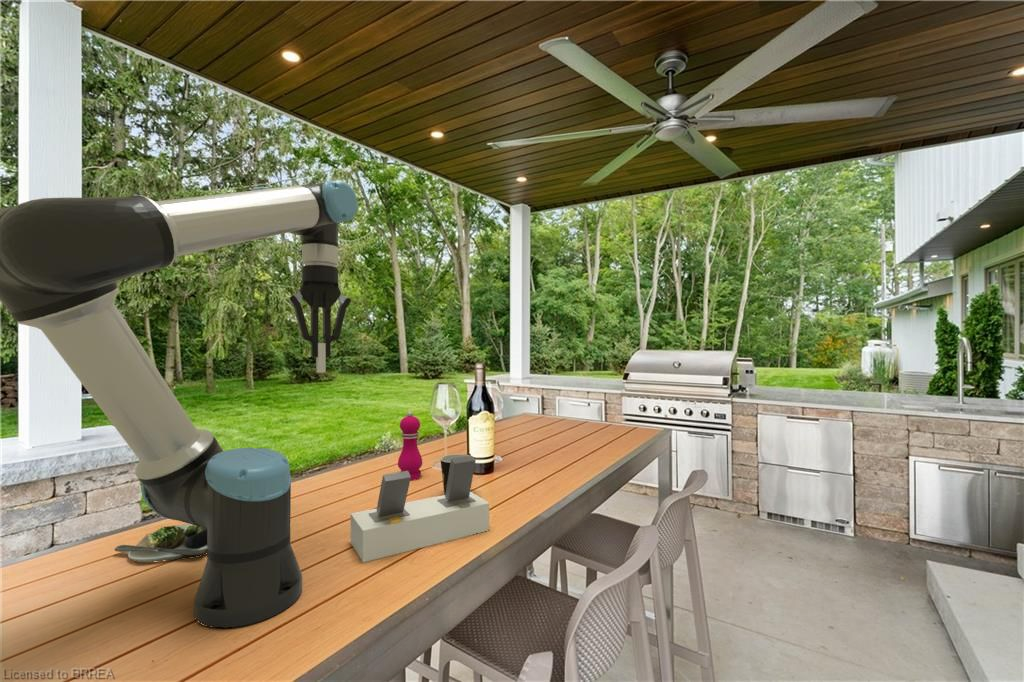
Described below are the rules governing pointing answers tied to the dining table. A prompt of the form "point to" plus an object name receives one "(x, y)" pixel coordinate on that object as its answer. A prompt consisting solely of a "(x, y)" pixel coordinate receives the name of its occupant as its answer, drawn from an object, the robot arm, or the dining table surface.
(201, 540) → the salad plate
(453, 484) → the far switch
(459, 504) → the switch box
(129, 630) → the dining table surface
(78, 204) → the robot arm
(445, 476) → the coffee mug
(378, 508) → the near switch
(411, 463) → the pepper mill
